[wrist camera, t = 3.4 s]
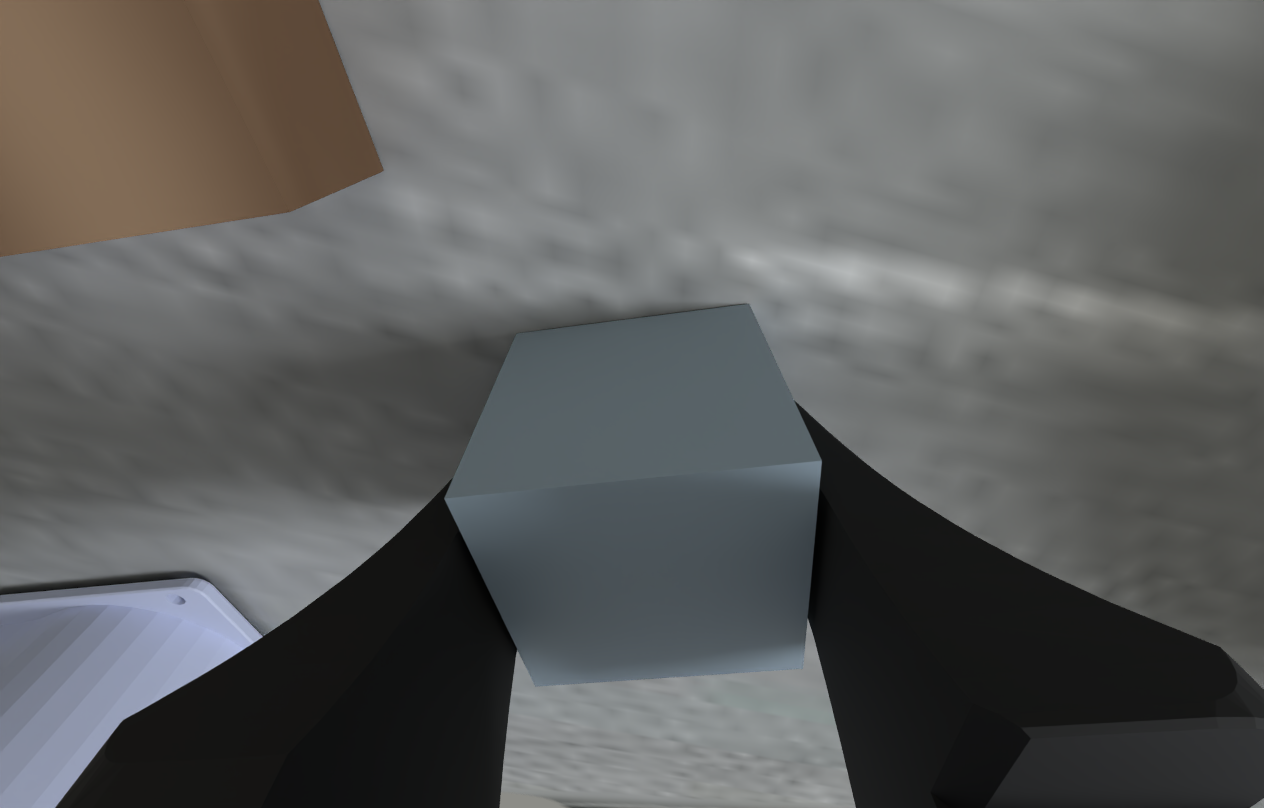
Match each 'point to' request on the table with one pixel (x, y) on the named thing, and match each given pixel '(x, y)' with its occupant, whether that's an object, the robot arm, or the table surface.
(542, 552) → the slate cube
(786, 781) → the table surface
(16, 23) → the walnut base
